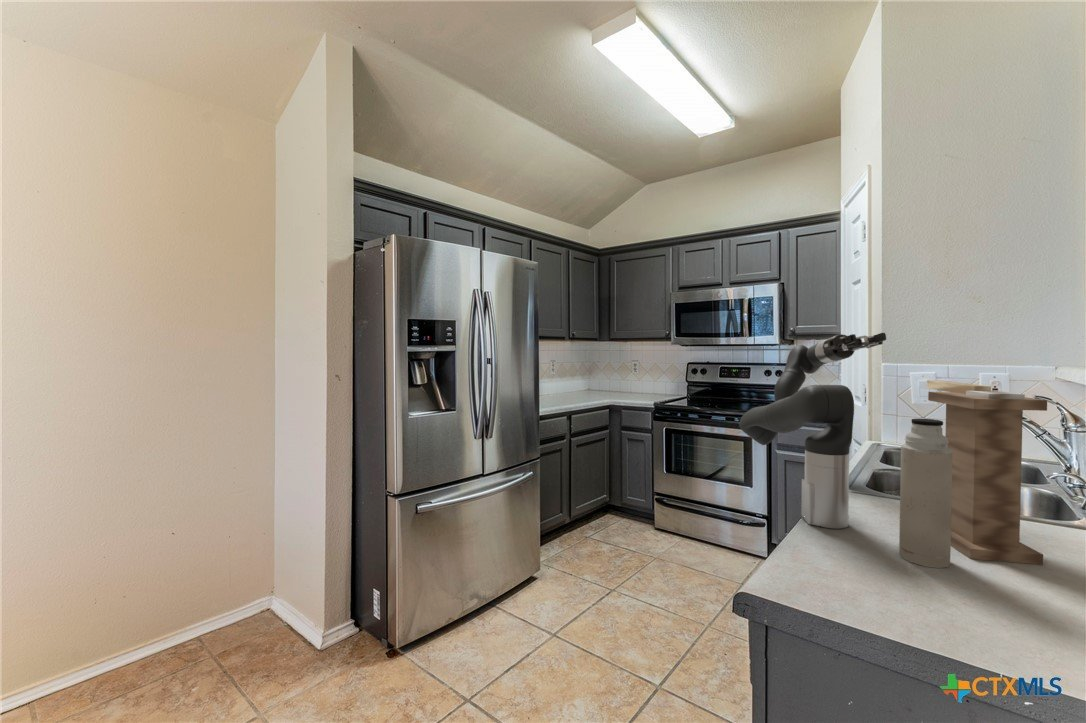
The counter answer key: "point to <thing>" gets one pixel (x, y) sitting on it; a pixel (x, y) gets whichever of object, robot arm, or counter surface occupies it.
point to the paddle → (972, 390)
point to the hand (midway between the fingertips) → (869, 336)
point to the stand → (987, 475)
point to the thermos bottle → (926, 495)
